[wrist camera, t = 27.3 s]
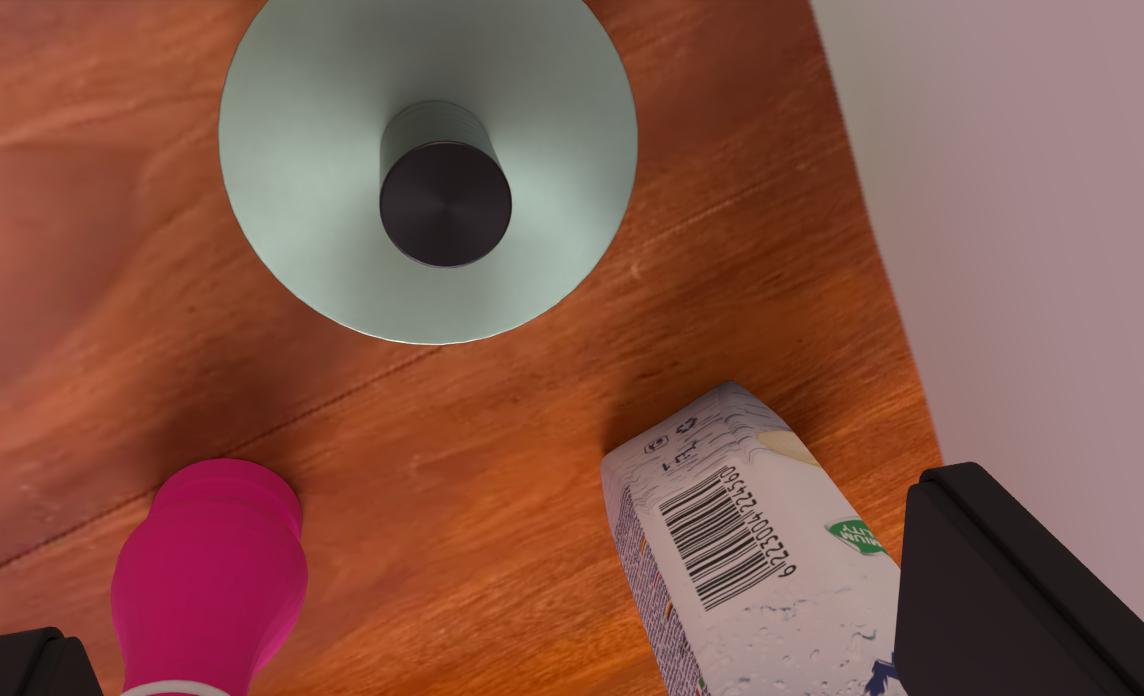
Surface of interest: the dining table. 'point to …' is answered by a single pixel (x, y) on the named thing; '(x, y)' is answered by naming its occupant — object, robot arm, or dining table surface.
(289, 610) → the pepper mill
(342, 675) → the dining table surface
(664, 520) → the juice carton
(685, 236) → the dining table surface
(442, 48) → the lid
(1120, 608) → the robot arm
